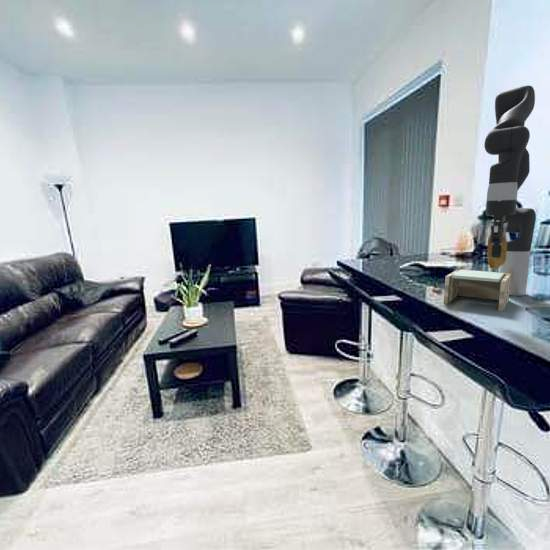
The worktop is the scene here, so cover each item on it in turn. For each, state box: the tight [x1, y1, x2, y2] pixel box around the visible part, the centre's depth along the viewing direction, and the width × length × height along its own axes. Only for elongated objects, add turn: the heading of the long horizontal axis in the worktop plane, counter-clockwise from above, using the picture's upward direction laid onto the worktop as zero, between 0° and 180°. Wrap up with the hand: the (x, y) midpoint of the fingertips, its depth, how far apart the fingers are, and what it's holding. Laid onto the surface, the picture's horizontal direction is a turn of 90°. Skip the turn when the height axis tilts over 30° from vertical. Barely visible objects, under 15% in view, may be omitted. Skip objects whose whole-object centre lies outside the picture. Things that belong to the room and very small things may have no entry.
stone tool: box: [486, 233, 508, 271], centre depth 102 cm, size 5×2×15 cm, turn 52°
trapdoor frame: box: [443, 269, 511, 312], centre depth 121 cm, size 17×18×10 cm
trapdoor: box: [452, 269, 504, 282], centre depth 120 cm, size 15×14×1 cm
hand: (496, 256), depth 103 cm, fingers closed on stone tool, 2 cm apart
